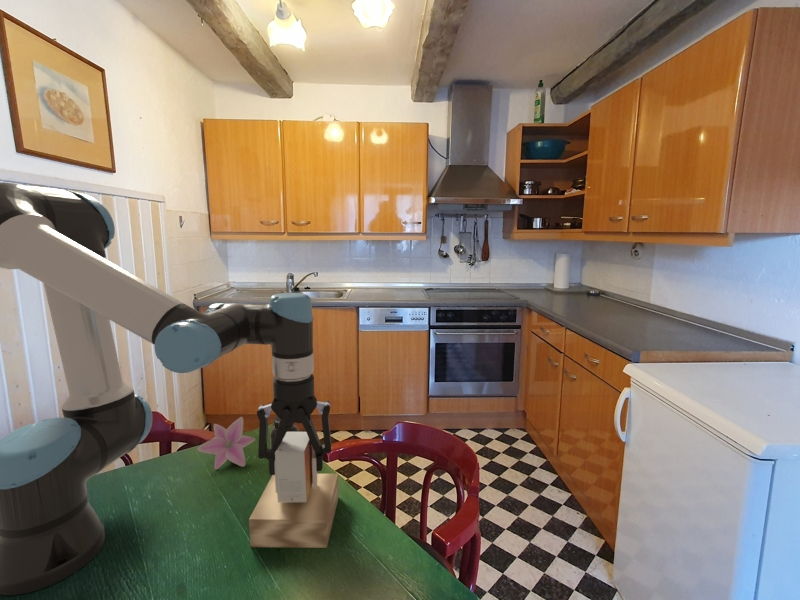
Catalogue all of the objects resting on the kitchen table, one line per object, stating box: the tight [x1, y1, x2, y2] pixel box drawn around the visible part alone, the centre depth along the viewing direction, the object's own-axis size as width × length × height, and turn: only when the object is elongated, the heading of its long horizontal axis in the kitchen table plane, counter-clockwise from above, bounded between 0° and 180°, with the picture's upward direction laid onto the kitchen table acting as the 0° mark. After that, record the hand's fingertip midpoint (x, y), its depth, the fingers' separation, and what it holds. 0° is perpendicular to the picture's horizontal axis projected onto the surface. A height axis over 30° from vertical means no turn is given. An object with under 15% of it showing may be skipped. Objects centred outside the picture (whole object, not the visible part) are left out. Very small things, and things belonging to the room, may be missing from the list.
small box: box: [275, 431, 314, 503], centre depth 76 cm, size 8×6×10 cm
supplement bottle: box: [269, 415, 299, 448], centre depth 97 cm, size 7×7×12 cm
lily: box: [196, 416, 256, 470], centre depth 99 cm, size 12×12×10 cm
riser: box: [248, 473, 339, 549], centre depth 78 cm, size 14×14×6 cm
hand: (297, 486), depth 77 cm, fingers open, 6 cm apart
